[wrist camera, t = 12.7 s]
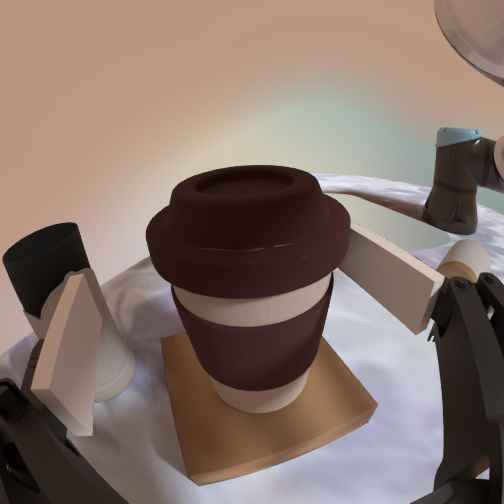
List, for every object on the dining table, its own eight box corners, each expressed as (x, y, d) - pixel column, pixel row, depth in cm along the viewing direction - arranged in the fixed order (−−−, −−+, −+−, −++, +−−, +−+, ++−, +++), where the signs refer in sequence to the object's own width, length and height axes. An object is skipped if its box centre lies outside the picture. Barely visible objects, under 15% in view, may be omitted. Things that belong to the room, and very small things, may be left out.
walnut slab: (294, 324, 29) (295, 303, 28) (368, 422, 17) (378, 404, 16) (168, 359, 26) (160, 338, 24) (198, 486, 14) (188, 476, 12)
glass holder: (102, 416, 19) (14, 277, 12) (34, 360, 23) (-22, 251, 16) (152, 357, 26) (104, 221, 19) (76, 321, 31) (36, 217, 24)
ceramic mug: (422, 301, 30) (438, 248, 27) (441, 277, 34) (454, 231, 31) (486, 336, 22) (511, 283, 19) (496, 305, 27) (514, 258, 23)
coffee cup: (212, 328, 25) (183, 164, 17) (321, 332, 23) (335, 159, 16) (182, 421, 16) (92, 225, 9) (324, 433, 15) (383, 221, 7)
